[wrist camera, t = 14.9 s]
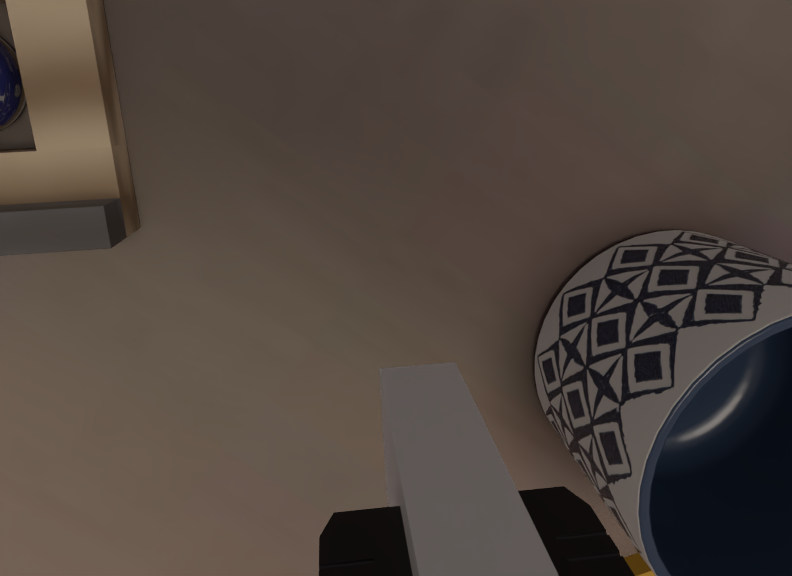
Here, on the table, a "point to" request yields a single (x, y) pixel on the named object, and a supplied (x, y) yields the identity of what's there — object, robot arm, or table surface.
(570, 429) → the planter
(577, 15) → the table surface
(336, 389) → the table surface
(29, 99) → the jig
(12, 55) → the pill bottle
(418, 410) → the robot arm
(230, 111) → the table surface
